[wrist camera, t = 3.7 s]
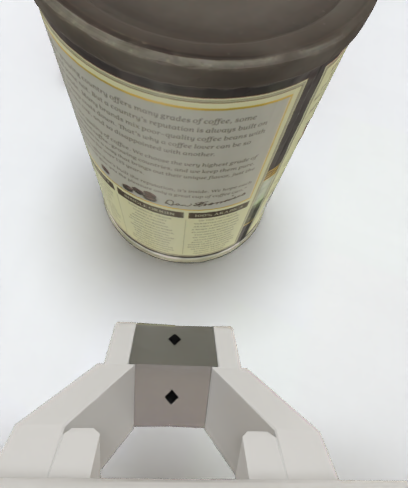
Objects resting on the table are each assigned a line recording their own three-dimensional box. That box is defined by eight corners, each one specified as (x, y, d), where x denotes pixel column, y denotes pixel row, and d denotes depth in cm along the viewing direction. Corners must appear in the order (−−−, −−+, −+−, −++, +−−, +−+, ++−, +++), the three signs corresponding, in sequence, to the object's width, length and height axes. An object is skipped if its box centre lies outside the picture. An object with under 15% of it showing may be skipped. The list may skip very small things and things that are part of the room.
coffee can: (97, 125, 25) (18, -179, 12) (249, 117, 26) (332, -163, 13) (104, 274, 21) (-2, 72, 8) (281, 255, 22) (442, 57, 9)
